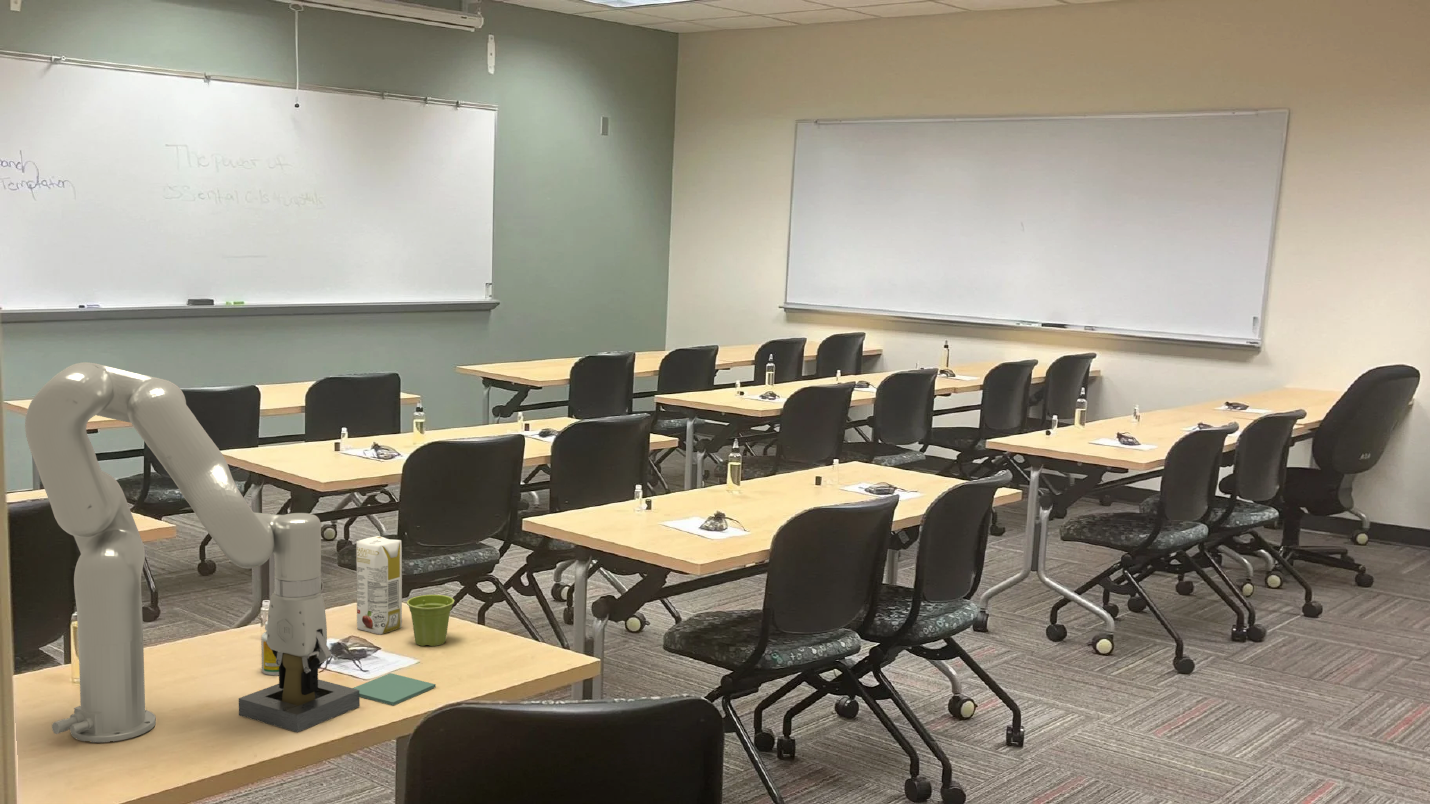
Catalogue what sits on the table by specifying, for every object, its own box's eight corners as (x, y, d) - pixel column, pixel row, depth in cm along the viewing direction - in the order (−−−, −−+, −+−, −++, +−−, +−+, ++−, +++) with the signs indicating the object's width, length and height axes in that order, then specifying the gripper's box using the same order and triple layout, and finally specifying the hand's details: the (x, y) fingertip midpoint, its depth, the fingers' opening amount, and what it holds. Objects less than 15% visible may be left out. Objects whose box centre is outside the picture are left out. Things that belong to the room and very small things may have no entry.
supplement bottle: (257, 669, 235) (256, 620, 233) (285, 664, 238) (285, 615, 237) (267, 677, 230) (267, 627, 229) (296, 672, 234) (295, 622, 233)
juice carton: (380, 636, 256) (380, 546, 254) (351, 629, 261) (350, 540, 258) (407, 627, 263) (407, 539, 261) (377, 620, 267) (377, 534, 265)
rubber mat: (393, 705, 218) (393, 702, 218) (347, 693, 224) (347, 690, 224) (435, 687, 228) (435, 684, 228) (390, 676, 233) (390, 672, 233)
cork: (323, 711, 215) (323, 649, 213) (291, 719, 210) (290, 657, 209) (305, 701, 219) (305, 641, 218) (273, 710, 214) (273, 648, 213)
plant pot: (463, 642, 254) (463, 601, 253) (425, 652, 247) (425, 610, 246) (435, 632, 260) (435, 591, 259) (397, 642, 253) (397, 600, 252)
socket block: (297, 732, 205) (297, 714, 205) (238, 715, 212) (238, 698, 212) (359, 706, 217) (359, 690, 217) (302, 691, 224) (301, 674, 224)
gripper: (245, 583, 213) (246, 686, 215) (317, 599, 205) (317, 706, 207) (280, 574, 219) (280, 674, 221) (350, 589, 211) (350, 692, 213)
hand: (298, 688), depth 214 cm, fingers closed on cork, 4 cm apart
